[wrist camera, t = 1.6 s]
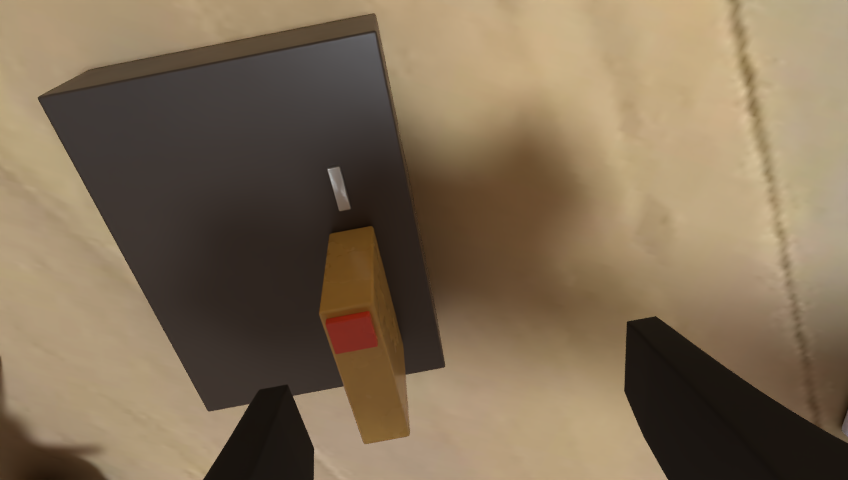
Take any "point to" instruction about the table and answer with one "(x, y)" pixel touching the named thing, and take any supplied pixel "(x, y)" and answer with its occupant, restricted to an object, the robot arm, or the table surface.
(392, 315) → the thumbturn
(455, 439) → the table surface
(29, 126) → the table surface
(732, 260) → the table surface
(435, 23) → the table surface
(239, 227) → the plate
